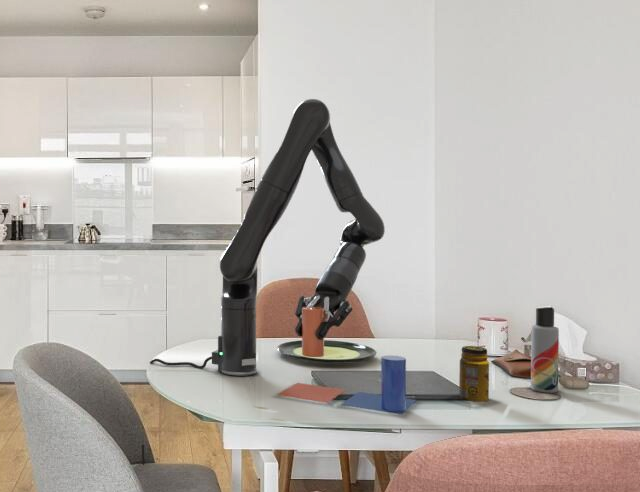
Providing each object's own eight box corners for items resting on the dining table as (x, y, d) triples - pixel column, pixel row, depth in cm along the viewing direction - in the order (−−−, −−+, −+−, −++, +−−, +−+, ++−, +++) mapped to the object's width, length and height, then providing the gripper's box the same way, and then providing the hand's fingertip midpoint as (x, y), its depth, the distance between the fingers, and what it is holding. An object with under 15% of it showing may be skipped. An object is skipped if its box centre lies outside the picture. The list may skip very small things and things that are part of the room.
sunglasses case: (487, 360, 201) (500, 340, 200) (510, 373, 200) (523, 353, 199) (511, 375, 183) (526, 353, 182) (536, 390, 182) (551, 368, 182)
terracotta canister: (298, 355, 166) (298, 308, 166) (306, 351, 170) (306, 305, 170) (319, 358, 163) (319, 310, 163) (327, 354, 168) (327, 307, 167)
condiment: (497, 402, 161) (497, 348, 161) (475, 407, 156) (475, 353, 156) (467, 394, 167) (467, 343, 167) (445, 400, 162) (445, 347, 162)
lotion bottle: (548, 394, 167) (549, 309, 167) (525, 388, 172) (526, 305, 172) (563, 391, 170) (564, 307, 169) (540, 385, 175) (541, 304, 174)
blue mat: (340, 407, 157) (340, 404, 157) (358, 394, 168) (358, 391, 167) (401, 417, 149) (401, 414, 149) (416, 402, 160) (416, 399, 160)
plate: (392, 356, 209) (392, 347, 209) (350, 373, 188) (350, 363, 188) (306, 343, 227) (306, 335, 227) (259, 358, 207) (259, 349, 206)
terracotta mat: (276, 397, 165) (276, 394, 165) (297, 385, 176) (297, 382, 176) (327, 405, 158) (327, 402, 158) (345, 392, 169) (345, 389, 169)
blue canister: (378, 409, 153) (378, 358, 152) (384, 404, 157) (384, 354, 157) (402, 413, 150) (402, 361, 150) (408, 408, 154) (408, 357, 154)
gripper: (306, 268, 177) (276, 322, 169) (357, 272, 166) (327, 329, 158) (319, 287, 180) (290, 341, 173) (370, 292, 170) (341, 350, 162)
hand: (308, 335), depth 166 cm, fingers closed on terracotta canister, 5 cm apart
